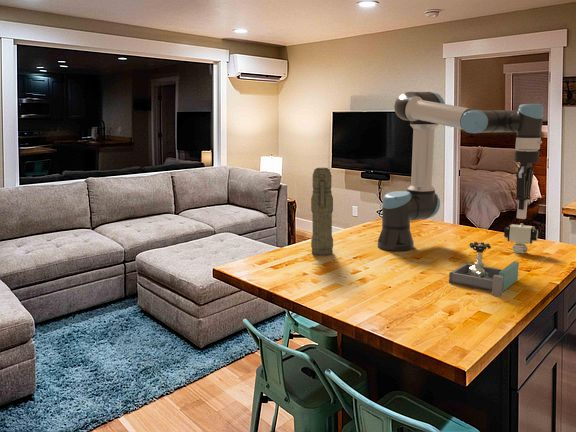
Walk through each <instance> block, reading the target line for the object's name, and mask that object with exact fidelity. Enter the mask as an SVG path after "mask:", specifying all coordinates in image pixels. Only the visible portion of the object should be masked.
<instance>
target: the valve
mask: <svg viewBox="0 0 576 432" xmlns="http://www.w3.org/2000/svg"><path fill="white" fill-rule="evenodd" d="M491 247H492V246H491V244H490V243H485V242H483V241H482V242H478V241H474V242H470V243H469V248H470V249H472V250H474V251H476V253H477V254H475V255H476V257H475V259H476V261H474V262H473V266H471V267H470V268H469V274H471V275H472V276H475V277H480V278H485V279H488V273H487V272H485V271H484V269H483V268H482V267H483V266H485V265H484V262H483V254H482V253H483V252H484V251H485V250H487V249H489V250H490V249H491Z"/></svg>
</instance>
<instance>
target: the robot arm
mask: <svg viewBox="0 0 576 432" xmlns="http://www.w3.org/2000/svg"><path fill="white" fill-rule="evenodd" d="M393 106H394V107H393V108H394V112H395V115H396V116H397V117H398V118H400V120H403V121H408V122H409V125H410V127H411V128H412V130H413V131H412V132H413V133H412V156H411V180H410V181H411V182H410V185H409V186H408V187H407V189H406V190H407V191H406V190H397V191H391V192H387V193H386V194H384V195H383V197H382V203H381V207H382V209H381V210H382V213H381V215H382V217H381V221H382V222H381V231H380V233H379V236H378V239H377V247H378V248H379V249H382V250H386V251H392V252H405V251H410V250H413V249H414V247H415V244H414V242H415V241H414V238H413V235H412V232H411V222H413V221H419V220H420V221H421V220H427V219H430V218H433V217H435V216H436V215H437V214H438V212H439V210H440V207H441V206H440V205H441V200H440V197H439V195H438V194H437V193H436V188H435V187H434V186H433V185H432V184H433V183H432V182H433V164H434V162H433V161H434V147H435V144H434V143H435V129H436V128H437V127H438V126H439V125H442V126H446V127H450V128H456V129H459V130H463V131H464V132H465V133H469V134H482V133H483V134H484V133H516V138H515V146H514V147H515V148H514V149H515V150H516V151H515V152H514V162H516V163H519V167H518V168H517V171H516V172H515V173H516V174H515V176H516V190H515V191H516V193H515V194H516V195H515V196H516V197H515V200H517V210H516V219H521V220H525V219H527V212H528V210H527V209H528V201H530V200H531V191H532V184H533V179H534V173H535V169H534V167H533V164H535V163H538V162H539V161H540V151H539V150H540V149H541V144H543V141H542V139H541V138H542V127H543V121H544V120H543V119H544V105H543V104H541V103H524V104H523V103H522V104H520V105H519V106H518V110H517V109H516V110H511V109H510V110H507V109H506V110H502V109H497V110H482V109H481V110H480V109H476V108H475V109H474V108H469V107H464V106H457V105H453V104H446V102H445V100H444V98H443V97H442V95H441V94H438V93H436V92H432V91H406V92H403V93H401V94H400V95H399V96H398V97H397V98H396V100H395V101H394V105H393Z"/></svg>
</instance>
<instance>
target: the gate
mask: <svg viewBox="0 0 576 432" xmlns="http://www.w3.org/2000/svg"><path fill="white" fill-rule="evenodd" d="M519 267H520V262H519V261H512V262H510V264H508V265H507V266H505V267H504V268H503V269H502V270H501V271H500V272H499V275H501V276H503V289H502V292H504V291H506V290H507V289H508V288H509V287H511V285H514V283H515V282H516V281H518V279H519Z"/></svg>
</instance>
